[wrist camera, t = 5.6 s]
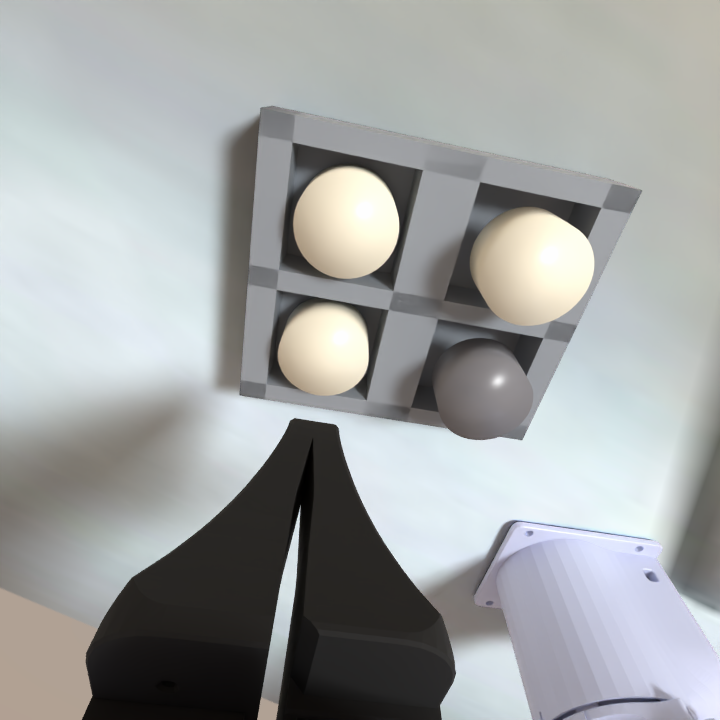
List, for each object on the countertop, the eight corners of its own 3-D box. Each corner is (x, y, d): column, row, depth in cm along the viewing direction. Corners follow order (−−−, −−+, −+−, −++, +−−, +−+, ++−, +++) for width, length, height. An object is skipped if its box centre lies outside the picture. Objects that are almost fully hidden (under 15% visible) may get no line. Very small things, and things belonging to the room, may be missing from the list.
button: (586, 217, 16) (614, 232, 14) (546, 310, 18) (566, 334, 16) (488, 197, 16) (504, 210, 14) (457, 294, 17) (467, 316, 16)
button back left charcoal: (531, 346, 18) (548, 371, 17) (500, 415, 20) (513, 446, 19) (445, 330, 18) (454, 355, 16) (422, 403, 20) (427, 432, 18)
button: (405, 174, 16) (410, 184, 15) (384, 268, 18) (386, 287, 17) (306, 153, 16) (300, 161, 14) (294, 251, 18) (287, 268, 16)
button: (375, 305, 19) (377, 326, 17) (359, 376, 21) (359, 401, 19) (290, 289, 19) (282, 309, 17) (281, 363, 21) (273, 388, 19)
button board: (610, 179, 18) (642, 190, 16) (508, 410, 23) (522, 440, 21) (272, 105, 16) (260, 107, 14) (250, 367, 22) (239, 395, 20)
